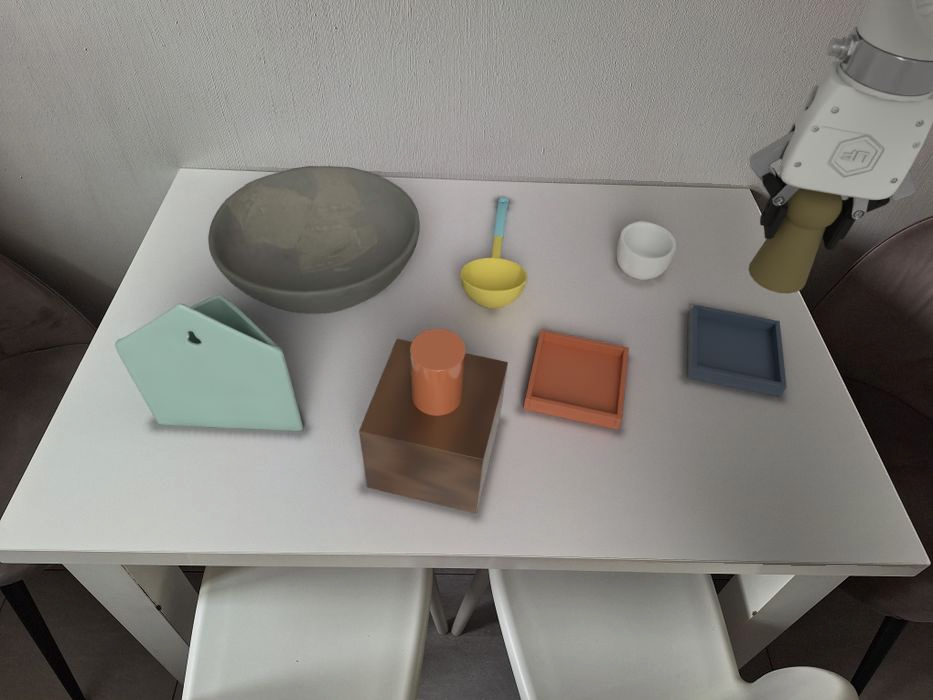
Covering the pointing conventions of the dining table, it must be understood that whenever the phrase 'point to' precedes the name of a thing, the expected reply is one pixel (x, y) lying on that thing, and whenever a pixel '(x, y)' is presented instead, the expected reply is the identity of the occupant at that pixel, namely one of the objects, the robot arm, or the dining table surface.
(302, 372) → the dining table surface
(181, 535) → the dining table surface
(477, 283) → the ladle
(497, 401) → the block
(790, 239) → the pepper shaker
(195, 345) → the planter
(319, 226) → the bowl
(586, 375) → the terracotta tray
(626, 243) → the teacup
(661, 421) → the dining table surface
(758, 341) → the slate tray
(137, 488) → the dining table surface
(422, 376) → the terracotta jar
